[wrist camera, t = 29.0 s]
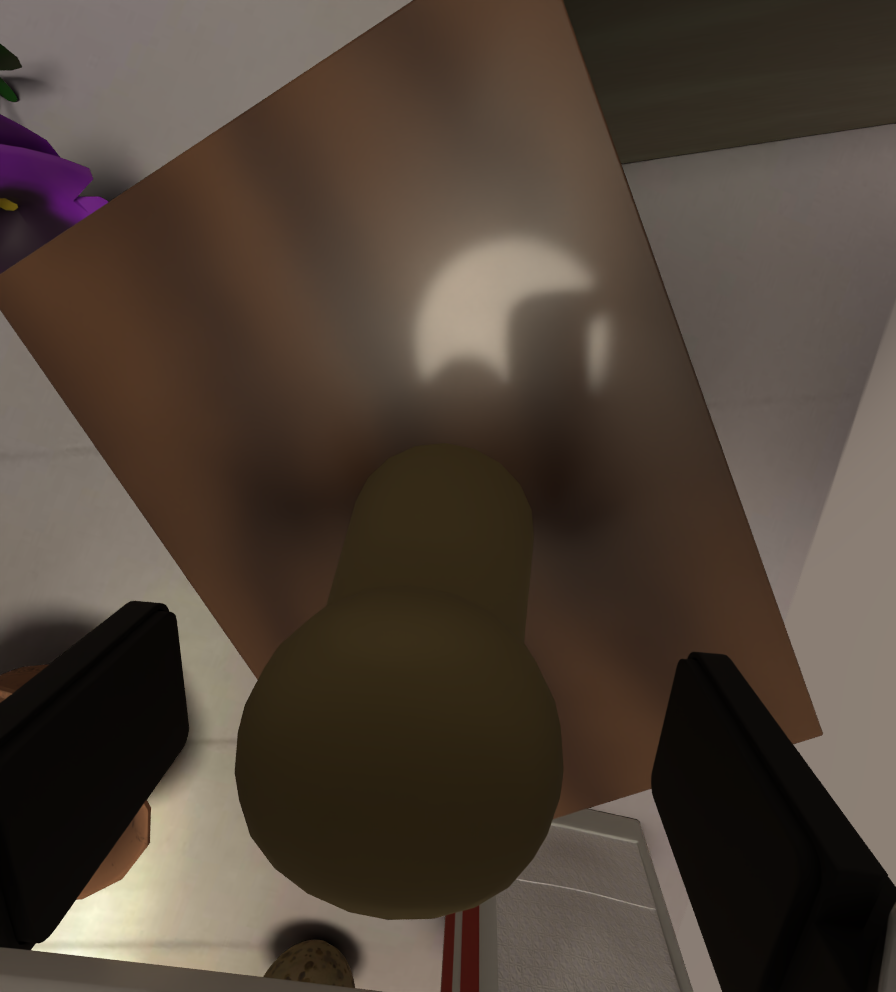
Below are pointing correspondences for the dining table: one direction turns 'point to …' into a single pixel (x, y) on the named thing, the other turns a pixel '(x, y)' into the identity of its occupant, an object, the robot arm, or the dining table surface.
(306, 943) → the decorative egg
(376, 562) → the brown rounded tall piece
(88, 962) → the robot arm
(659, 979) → the white box red top
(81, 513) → the dining table surface
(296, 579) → the cupboard
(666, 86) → the cupboard door
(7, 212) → the flower
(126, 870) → the bowl
